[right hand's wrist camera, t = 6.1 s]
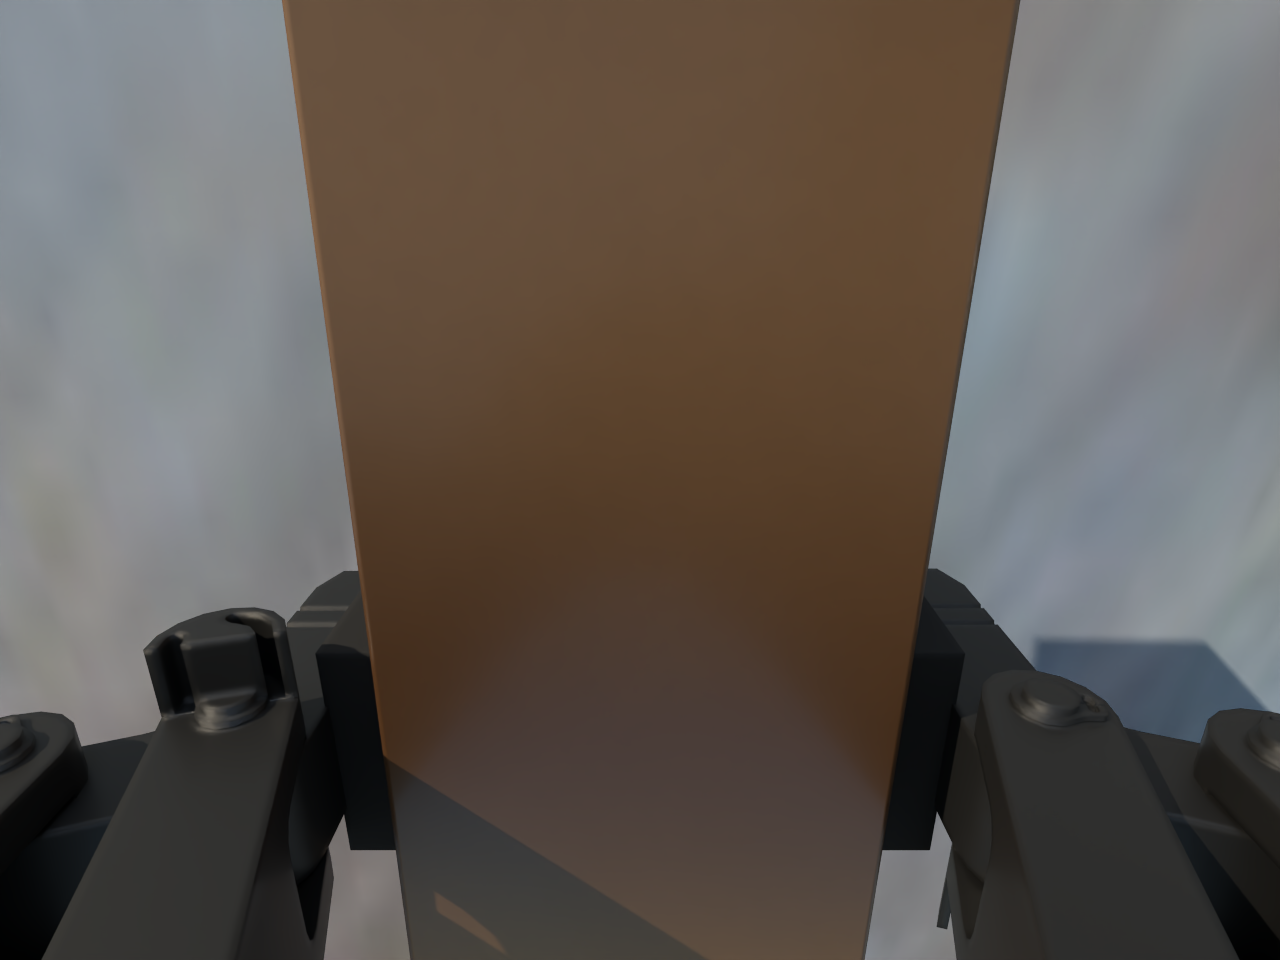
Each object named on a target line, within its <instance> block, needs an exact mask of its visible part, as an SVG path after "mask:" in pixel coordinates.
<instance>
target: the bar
mask: <svg viewBox="0 0 1280 960" xmlns="http://www.w3.org/2000/svg"><path fill="white" fill-rule="evenodd" d="M282 3H283V11H284V18H285V26H286V33H287V41H288V48H289V56H290V63H291V71H292V78H293V86H294V93H295V101H296V108H297V115H298V123H299V130H300V138H301V145H302V153H303V160H304V168H305V175H306V183H307V190H308V198H309V205H310V213H311V220H312V227H313V235H314V242H315V250H316V257H317V265H318V272H319V280H320V287H321V295H322V302H323V310H324V317H325V324H326V332H327V339H328V347H329V354H330V362H331V369H332V377H333V384H334V392H335V399H336V407H337V414H338V422H339V429H340V436H341V444H342V451H343V459H344V466H345V474H346V481H347V489H348V496H349V504H350V511H351V519H352V526H353V534H354V541H355V548H356V556H357V563H358V571H359V578H360V586H361V593H362V601H363V608H364V616H365V623H366V631H367V638H368V646H369V653H370V660H371V668H372V675H373V683H374V690H375V698H376V705H377V713H378V720H379V728H380V735H381V743H382V750H383V757H384V765H385V772H386V780H387V787H388V795H389V802H390V810H391V817H392V825H393V832H394V840H395V847H396V855H397V862H398V869H399V877H400V884H401V892H402V899H403V907H404V914H405V922H406V929H407V937H408V944H409V952H410V959H411V960H864V959H865V953H866V947H867V941H868V934H869V928H870V922H871V916H872V910H873V904H874V898H875V891H876V885H877V879H878V873H879V867H880V861H881V854H882V848H883V842H884V836H885V830H886V824H887V818H888V811H889V805H890V799H891V793H892V787H893V781H894V774H895V768H896V762H897V756H898V750H899V744H900V737H901V731H902V725H903V719H904V713H905V707H906V701H907V694H908V688H909V682H910V676H911V670H912V664H913V657H914V651H915V645H916V639H917V633H918V627H919V621H920V614H921V608H922V602H923V596H924V590H925V584H926V577H927V571H928V565H929V559H930V553H931V547H932V540H933V534H934V528H935V522H936V516H937V510H938V504H939V497H940V491H941V485H942V479H943V473H944V467H945V460H946V454H947V448H948V442H949V436H950V430H951V424H952V417H953V411H954V405H955V399H956V393H957V387H958V380H959V374H960V368H961V362H962V356H963V350H964V343H965V337H966V331H967V325H968V319H969V313H970V307H971V300H972V294H973V288H974V282H975V276H976V270H977V263H978V257H979V251H980V245H981V239H982V233H983V227H984V220H985V214H986V208H987V202H988V196H989V190H990V183H991V177H992V171H993V165H994V159H995V153H996V146H997V140H998V134H999V128H1000V122H1001V116H1002V110H1003V103H1004V97H1005V91H1006V85H1007V79H1008V73H1009V66H1010V60H1011V54H1012V48H1013V42H1014V36H1015V30H1016V23H1017V17H1018V11H1019V5H1020V0H282Z"/></svg>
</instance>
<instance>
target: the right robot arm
mask: <svg viewBox="0 0 1280 960" xmlns="http://www.w3.org/2000/svg"><path fill="white" fill-rule="evenodd" d="M143 651H144V655H145V658H146V662H147V666H148V669H149V673H150V676H151V680H152V684H153V687H154V691H155V695H156V698H157V702H158V706H159V709H160V713H161V716H162V718H161V721H160V723H159V725H158V727H157V729H156V731H154V732H150V733H146V734H142V735H137V736H132V737H127V738H122V739H117V740H112V741H107V742H102V743H97V744H92V745H87V746H82V747H81V744H80V741H79V738H78V735H77V732H76V728H75V725H74V723H73V722H72V721H71V720H69V719H68V718H66V717H65V716H64V715H62V714H56V713H48V712H35V713H27V714H19V715H10V716H6V717H1V718H0V960H324V952H325V944H326V936H327V928H328V920H329V912H330V904H331V896H332V888H333V881H334V876H333V869H332V862H331V857H330V852H329V844H330V842H331V840H332V838H333V836H334V834H335V832H336V830H337V828H338V825H339V823H340V821H341V819H342V817H343V815H344V816H345V821H346V827H347V833H348V838H349V844H350V849H351V850H396V847H395V840H394V832H393V825H392V817H391V810H390V802H389V795H388V787H387V780H386V772H385V765H384V757H383V750H382V743H381V735H380V728H379V720H378V713H377V705H376V698H375V690H374V683H373V675H372V668H371V660H370V653H369V646H368V638H367V631H366V623H365V616H364V608H363V601H362V593H361V586H360V578H359V571H343V572H342V573H340V574H338V575H337V576H335V577H333V578H332V579H330V580H328V581H327V582H325V583H323V584H322V585H320V586H319V587H317V588H316V589H315V590H314V591H313V593H312V594H311V595H310V596H309V597H308V599H307V600H306V601H305V602H304V603H303V605H302V606H301V607H300V611H297V612H296V613H295V614H294V615H293V617H292V618H291V619H290V620H289V621H288V623H287V627H286V624H285V619H283V618H282V617H281V616H279V615H278V614H277V613H275V612H274V611H270V610H265V609H260V608H230V609H225V610H220V611H216V612H211V613H206V614H202V615H200V616H197V617H194V618H192V619H189V620H186V621H184V622H181V623H178V624H176V625H175V626H173V627H171V628H170V629H168V630H166V631H165V632H163V633H161V634H159V635H158V636H156V637H155V638H154V639H153V640H152V642H151V643H150V644H149V645H148V646H147V647H146V648H145V649H144V650H143ZM937 812H938V814H939V816H940V819H941V821H942V823H943V825H944V827H945V829H946V831H947V833H948V835H949V837H950V839H951V841H952V846H951V852H950V857H949V862H948V867H947V872H946V878H945V883H944V888H943V893H942V898H941V903H940V909H939V915H938V922H937V927H939V928H944V929H947V927H948V922H949V917H950V913H951V918H952V926H953V934H954V942H955V950H956V958H957V960H1280V714H1278V713H1274V712H1269V711H1258V710H1250V709H1242V708H1239V709H1231V710H1223V711H1219V712H1218V713H1216V714H1215V715H1213V716H1212V717H1211V718H1209V719H1208V721H1207V724H1206V727H1205V731H1204V734H1203V737H1202V740H1201V743H1195V742H1190V741H1185V740H1180V739H1175V738H1170V737H1165V736H1160V735H1155V734H1150V733H1145V732H1140V731H1136V730H1132V729H1128V728H1124V727H1123V725H1122V723H1121V721H1120V719H1119V717H1118V716H1117V715H1116V713H1115V712H1114V711H1113V710H1112V708H1111V707H1110V706H1109V705H1108V703H1107V702H1106V701H1105V700H1103V699H1102V698H1100V697H1099V696H1097V695H1096V694H1094V693H1093V692H1091V691H1090V690H1089V689H1087V688H1086V687H1083V686H1081V685H1079V684H1076V683H1074V682H1072V681H1070V680H1067V679H1065V678H1063V677H1060V676H1056V675H1051V674H1047V673H1043V672H1039V671H1036V670H1035V669H1034V667H1033V666H1032V665H1031V664H1030V663H1029V661H1028V660H1027V659H1026V658H1025V657H1024V655H1023V654H1022V653H1021V652H1020V651H1019V650H1018V648H1017V647H1016V646H1015V645H1014V644H1013V642H1012V641H1011V640H1010V639H1009V638H1008V636H1007V635H1006V634H1005V633H1004V632H1003V631H1002V629H1001V628H1000V627H999V626H998V625H994V620H993V619H992V617H991V616H990V615H989V614H988V613H987V612H986V610H985V609H984V608H981V604H980V603H979V602H978V601H977V600H976V598H975V597H974V596H973V595H972V594H971V592H970V591H969V590H968V589H967V588H966V587H965V585H963V584H962V583H960V582H958V581H957V580H955V579H953V578H952V577H950V576H948V575H947V574H945V573H943V572H942V571H940V570H938V569H928V571H927V577H926V584H925V590H924V596H923V602H922V608H921V614H920V621H919V627H918V633H917V639H916V645H915V651H914V657H913V664H912V670H911V676H910V682H909V688H908V694H907V701H906V707H905V713H904V719H903V725H902V731H901V737H900V744H899V750H898V756H897V762H896V768H895V774H894V781H893V787H892V793H891V799H890V805H889V811H888V818H887V824H886V830H885V836H884V842H883V848H882V850H930V846H931V841H932V835H933V830H934V824H935V819H936V813H937Z"/></svg>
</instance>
